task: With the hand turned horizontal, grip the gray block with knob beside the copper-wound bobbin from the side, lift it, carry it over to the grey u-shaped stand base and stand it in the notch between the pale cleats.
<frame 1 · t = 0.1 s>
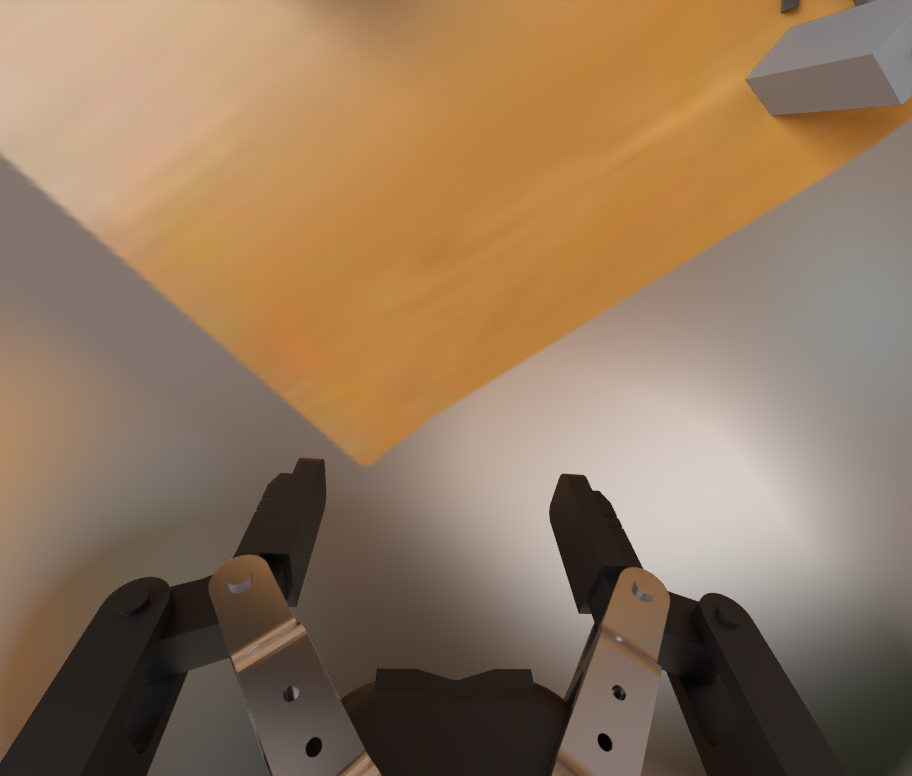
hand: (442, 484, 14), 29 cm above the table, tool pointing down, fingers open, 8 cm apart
gray block with knob: (780, 73, 33), on the table
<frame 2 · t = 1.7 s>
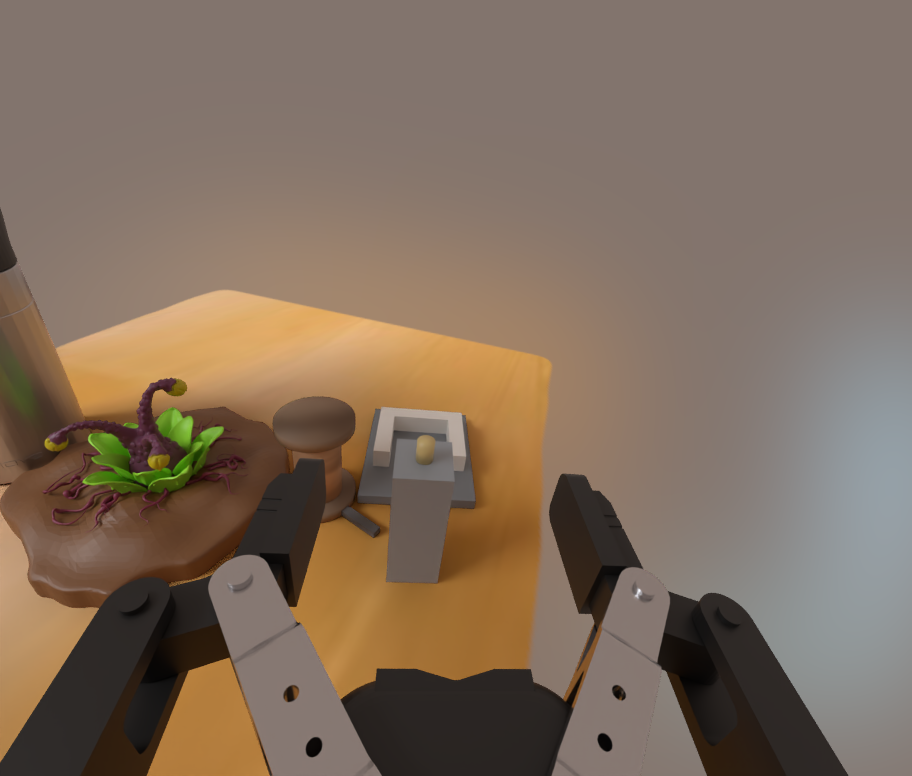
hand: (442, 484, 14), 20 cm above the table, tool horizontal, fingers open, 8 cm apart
plant: (174, 495, 37), on the table, touching bobbin
bobbin: (320, 495, 38), on the table
grey u-shaped stand base: (418, 456, 44), on the table
gray block with knob: (412, 559, 34), on the table
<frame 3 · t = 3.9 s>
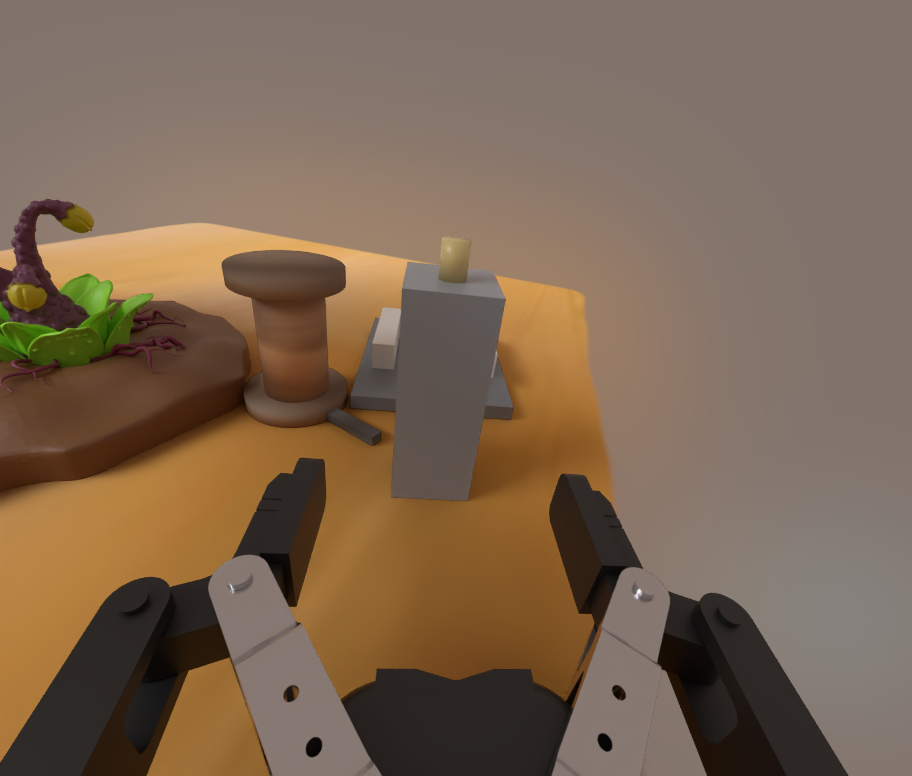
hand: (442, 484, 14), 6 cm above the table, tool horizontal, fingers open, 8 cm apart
plant: (85, 390, 27), on the table
bobbin: (298, 399, 27), on the table
grey u-shaped stand base: (432, 366, 34), on the table
gray block with knob: (429, 472, 23), on the table
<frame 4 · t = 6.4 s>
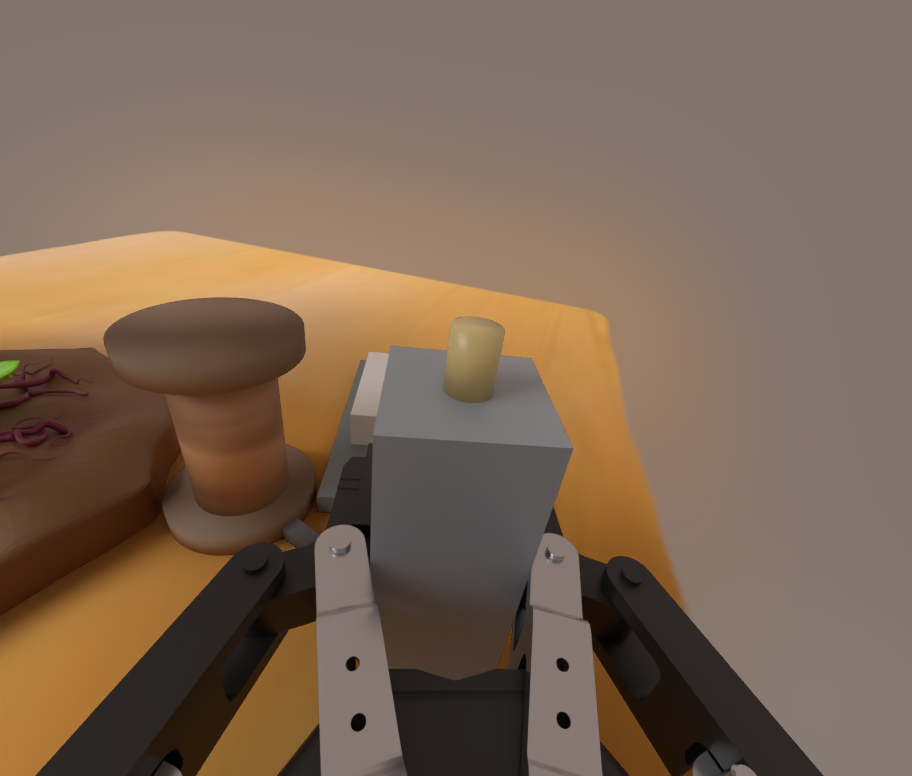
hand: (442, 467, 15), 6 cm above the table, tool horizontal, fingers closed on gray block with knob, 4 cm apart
bobbin: (246, 498, 20), on the table
grey u-shaped stand base: (431, 431, 26), on the table
gray block with knob: (427, 637, 15), on the table, touching gripper
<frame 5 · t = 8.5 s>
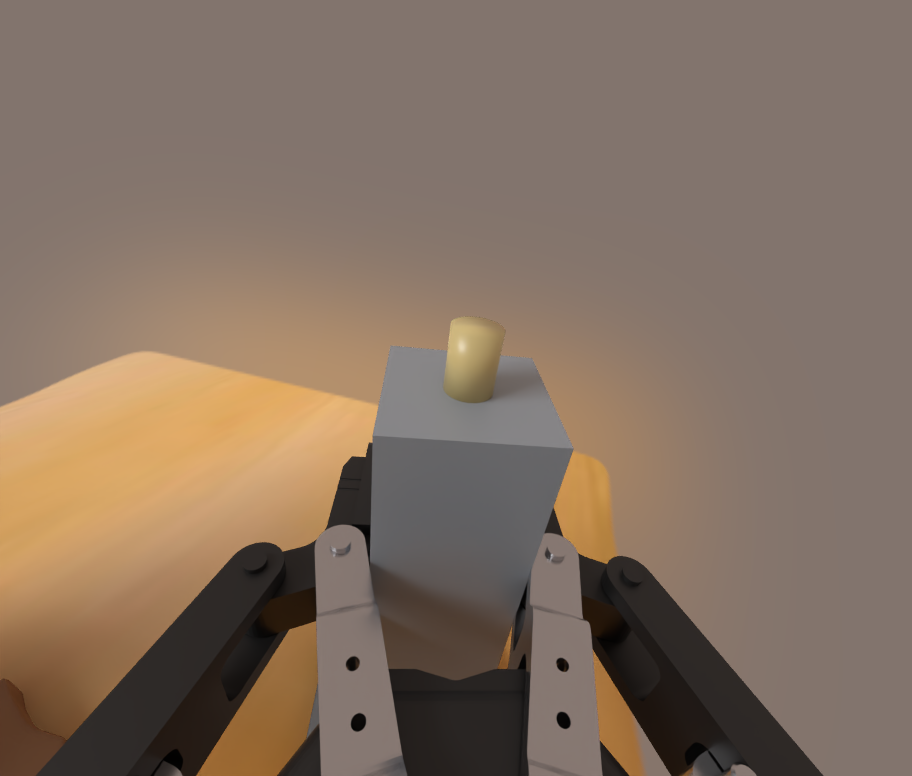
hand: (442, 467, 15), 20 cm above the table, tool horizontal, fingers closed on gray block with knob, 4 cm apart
gray block with knob: (427, 637, 15), point 14 cm above the table, touching gripper
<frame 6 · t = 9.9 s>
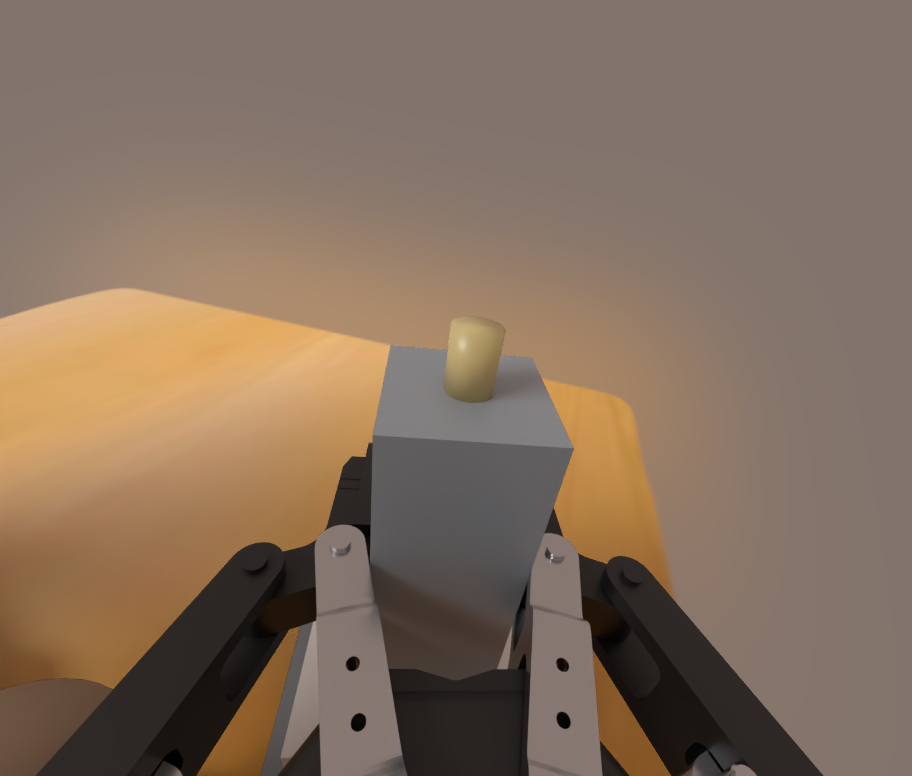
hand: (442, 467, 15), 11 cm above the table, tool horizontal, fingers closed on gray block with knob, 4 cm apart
grey u-shaped stand base: (414, 693, 18), on the table
gray block with knob: (427, 637, 15), point 5 cm above the table, touching gripper
when the fingers open (11 cm above the table, at t = 10.8 s): gray block with knob drops 3 cm, resting on grey u-shaped stand base.
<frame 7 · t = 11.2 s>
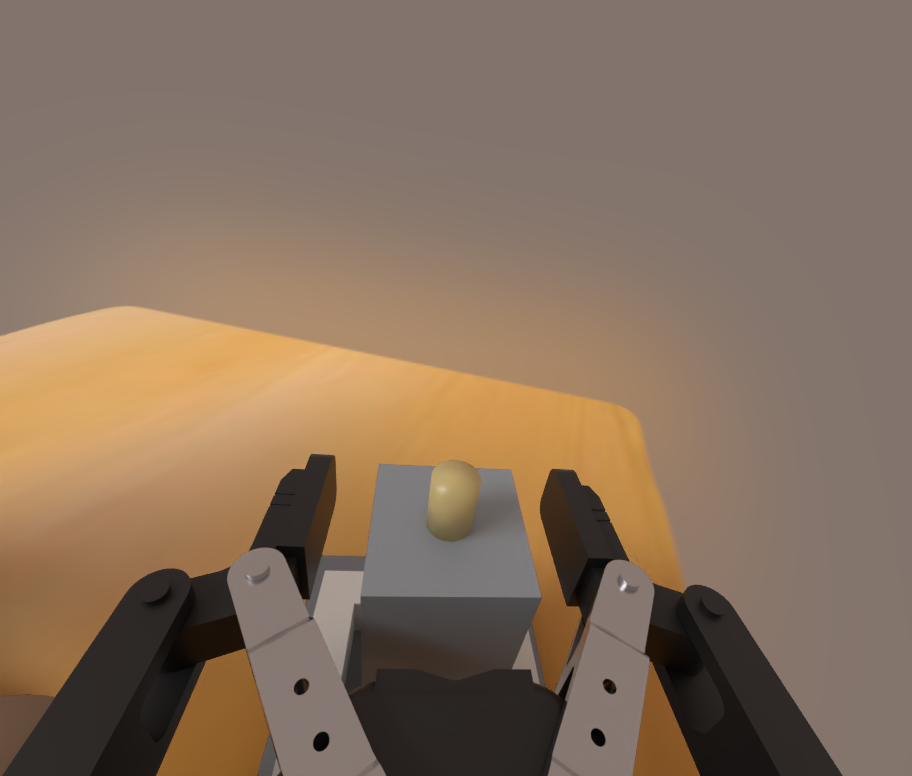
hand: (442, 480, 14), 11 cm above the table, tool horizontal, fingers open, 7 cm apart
grey u-shaped stand base: (416, 717, 17), on the table
gray block with knob: (420, 698, 17), point 1 cm above the table, touching grey u-shaped stand base
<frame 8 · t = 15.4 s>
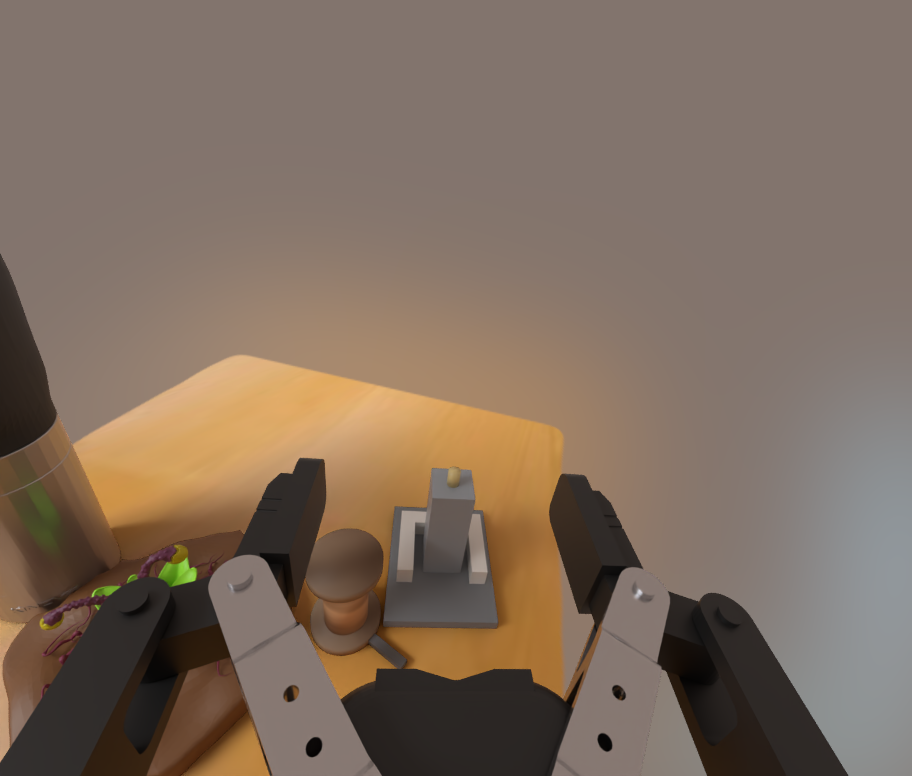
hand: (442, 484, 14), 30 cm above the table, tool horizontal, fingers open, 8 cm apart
plant: (172, 647, 36), on the table
bobbin: (346, 619, 39), on the table
grey u-shaped stand base: (439, 563, 45), on the table
gray block with knob: (440, 556, 45), point 1 cm above the table, touching grey u-shaped stand base
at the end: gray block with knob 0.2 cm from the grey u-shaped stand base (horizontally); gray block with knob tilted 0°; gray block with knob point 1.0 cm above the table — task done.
